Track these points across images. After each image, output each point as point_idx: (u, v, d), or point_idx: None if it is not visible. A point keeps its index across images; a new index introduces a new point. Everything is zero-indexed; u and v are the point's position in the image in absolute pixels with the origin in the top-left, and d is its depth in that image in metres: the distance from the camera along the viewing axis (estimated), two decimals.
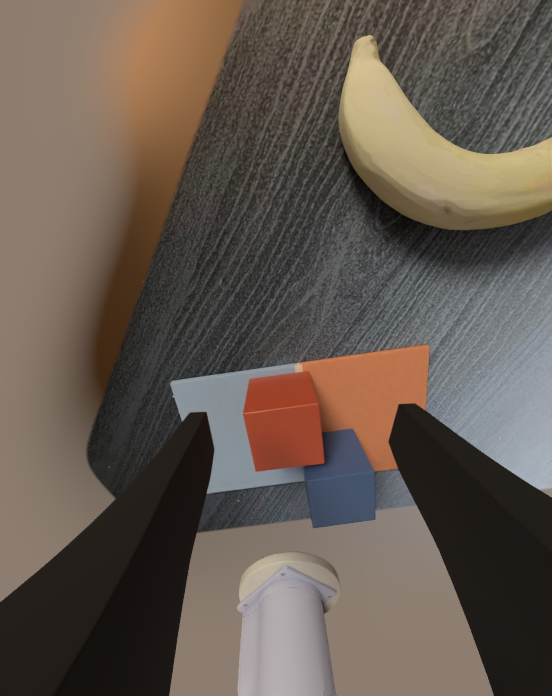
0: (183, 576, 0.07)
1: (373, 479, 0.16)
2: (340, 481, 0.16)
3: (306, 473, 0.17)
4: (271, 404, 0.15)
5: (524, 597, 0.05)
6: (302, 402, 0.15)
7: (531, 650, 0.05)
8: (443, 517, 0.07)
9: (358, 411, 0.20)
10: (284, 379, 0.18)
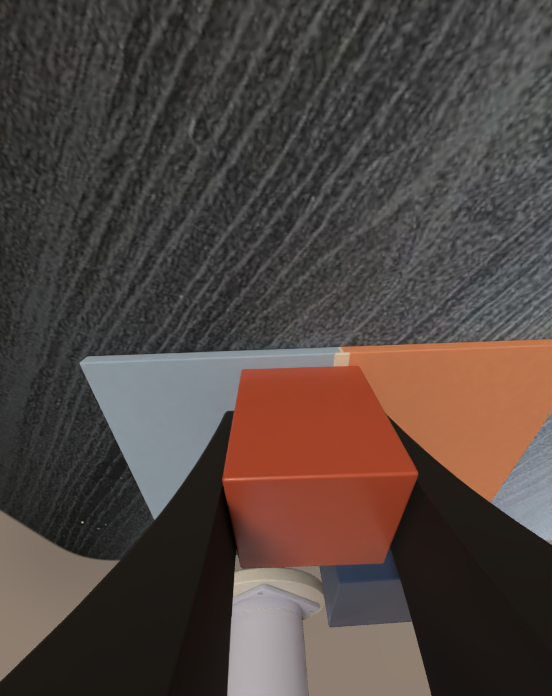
0: (232, 573, 0.07)
1: None
2: (401, 584, 0.09)
3: None
4: (295, 457, 0.06)
5: (452, 600, 0.05)
6: (374, 464, 0.06)
7: (458, 654, 0.05)
8: None
9: (424, 437, 0.12)
10: (314, 380, 0.09)
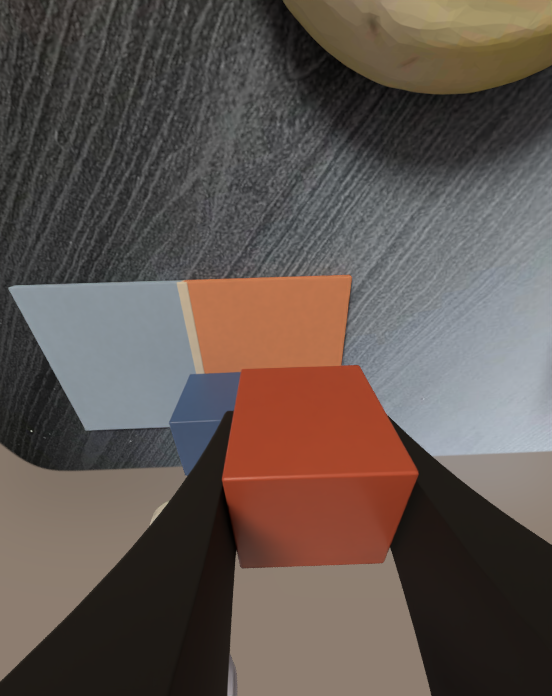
0: (232, 573, 0.07)
1: None
2: (211, 426, 0.13)
3: (173, 414, 0.14)
4: (295, 456, 0.06)
5: (452, 601, 0.05)
6: (373, 463, 0.06)
7: (458, 654, 0.05)
8: None
9: (262, 351, 0.16)
10: (313, 379, 0.09)
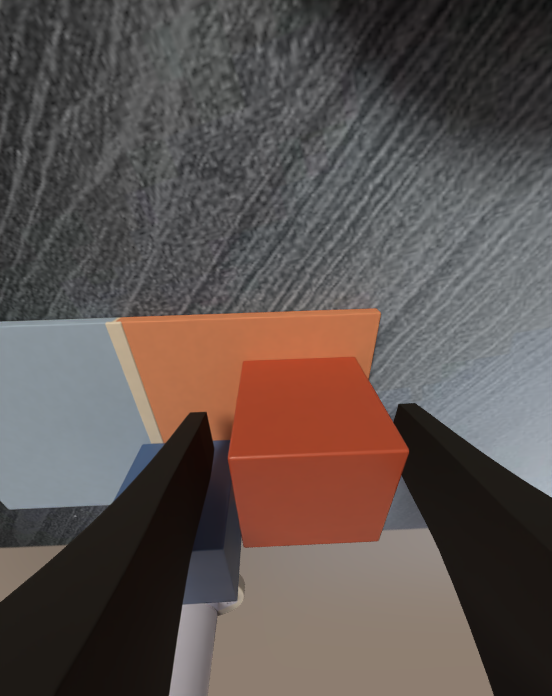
0: (183, 576, 0.07)
1: (222, 558, 0.08)
2: None
3: None
4: (295, 437, 0.06)
5: (524, 597, 0.05)
6: (368, 443, 0.06)
7: (531, 650, 0.05)
8: (443, 517, 0.07)
9: None
10: (312, 369, 0.09)
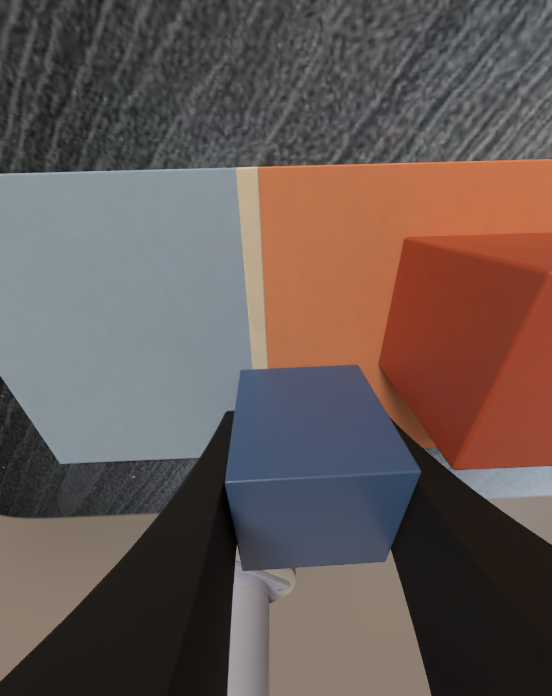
0: (232, 573, 0.07)
1: (411, 489, 0.06)
2: (320, 489, 0.06)
3: (230, 458, 0.06)
4: None
5: (452, 601, 0.05)
6: None
7: (458, 654, 0.05)
8: None
9: (380, 327, 0.09)
10: (516, 237, 0.07)
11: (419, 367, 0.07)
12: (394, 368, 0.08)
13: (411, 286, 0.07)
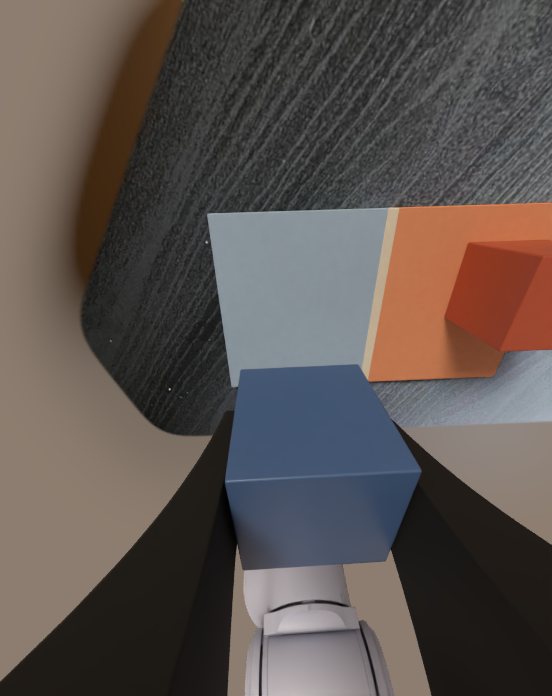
0: (232, 574, 0.07)
1: (411, 489, 0.06)
2: (321, 488, 0.06)
3: (230, 458, 0.06)
4: None
5: (452, 601, 0.05)
6: None
7: (458, 654, 0.05)
8: None
9: (448, 293, 0.15)
10: (528, 242, 0.13)
11: (478, 309, 0.13)
12: (459, 315, 0.15)
13: (473, 267, 0.13)
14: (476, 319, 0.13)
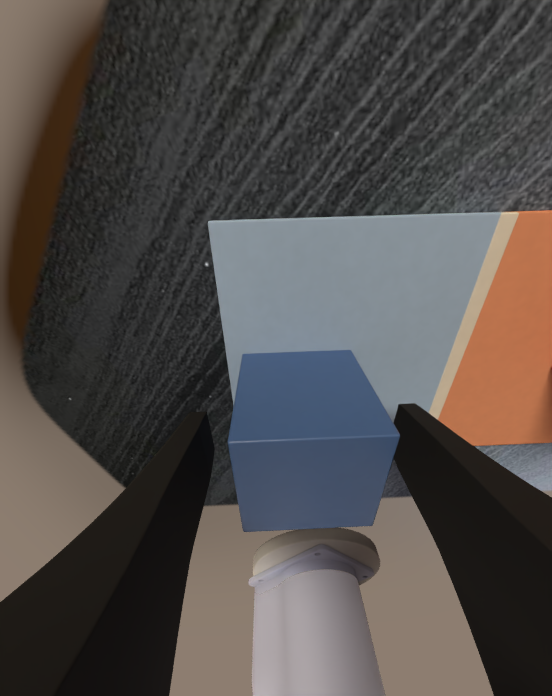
0: (183, 576, 0.07)
1: (392, 452, 0.07)
2: (311, 451, 0.07)
3: (233, 424, 0.07)
4: None
5: (524, 597, 0.05)
6: None
7: (531, 650, 0.05)
8: (443, 517, 0.07)
9: None
10: None
11: None
12: None
13: None
14: None
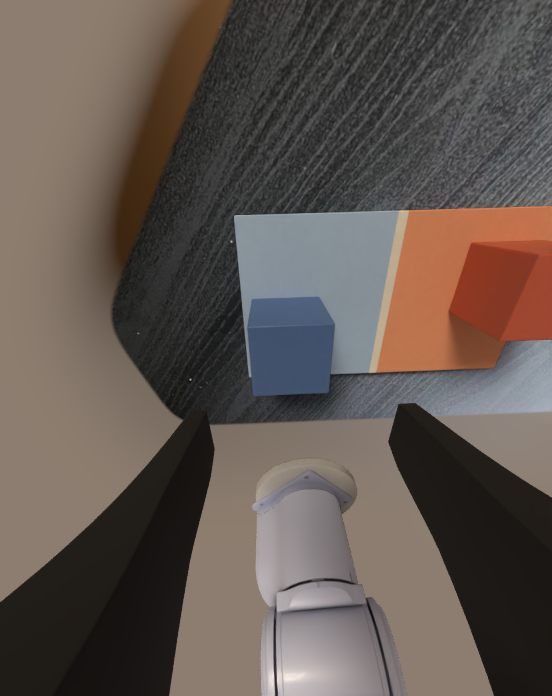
0: (183, 576, 0.07)
1: (332, 335, 0.13)
2: (290, 333, 0.13)
3: (249, 322, 0.13)
4: None
5: (524, 597, 0.05)
6: None
7: (531, 650, 0.05)
8: (443, 517, 0.07)
9: (452, 289, 0.16)
10: (525, 242, 0.14)
11: (480, 303, 0.15)
12: (462, 309, 0.16)
13: (476, 265, 0.15)
14: (478, 312, 0.15)
